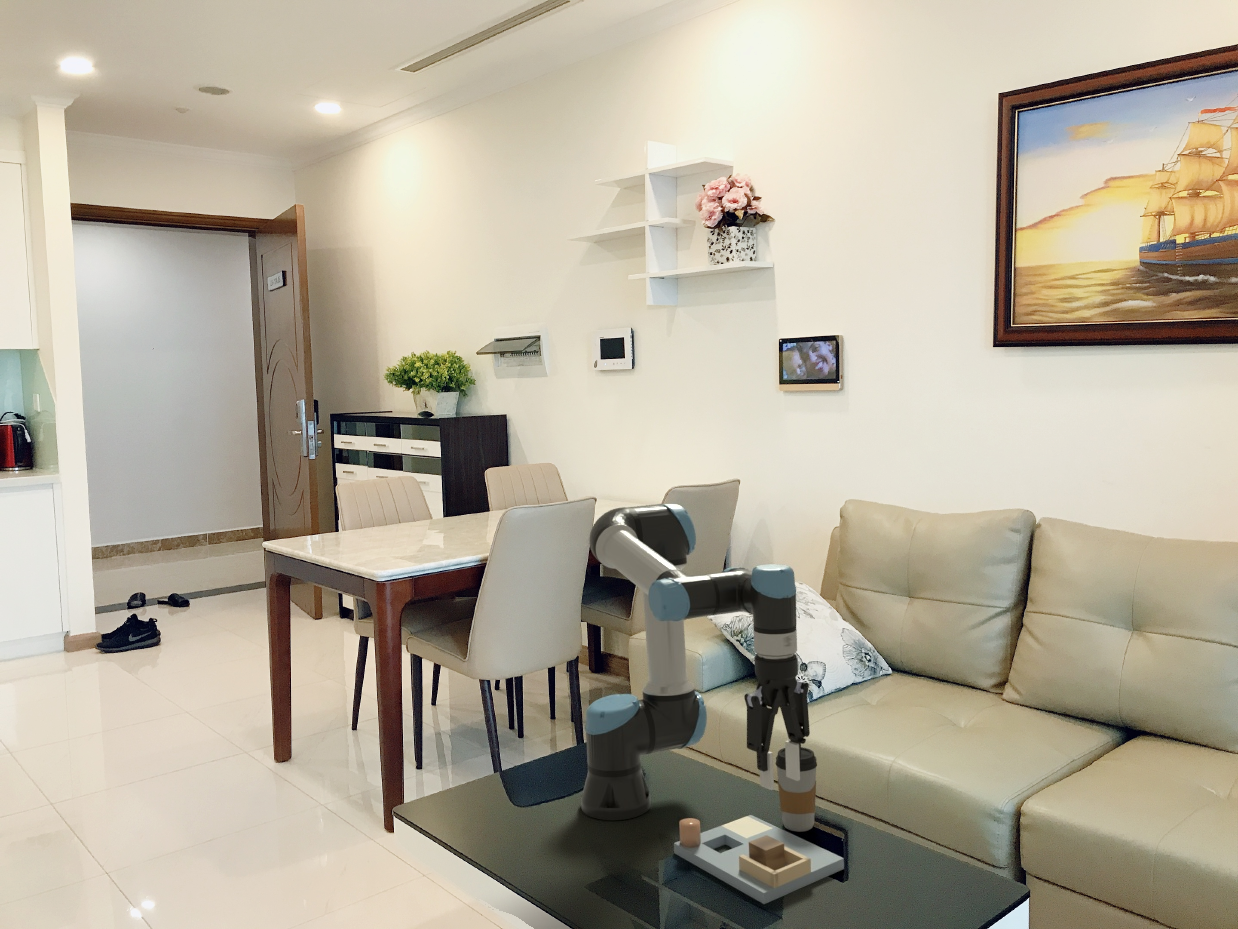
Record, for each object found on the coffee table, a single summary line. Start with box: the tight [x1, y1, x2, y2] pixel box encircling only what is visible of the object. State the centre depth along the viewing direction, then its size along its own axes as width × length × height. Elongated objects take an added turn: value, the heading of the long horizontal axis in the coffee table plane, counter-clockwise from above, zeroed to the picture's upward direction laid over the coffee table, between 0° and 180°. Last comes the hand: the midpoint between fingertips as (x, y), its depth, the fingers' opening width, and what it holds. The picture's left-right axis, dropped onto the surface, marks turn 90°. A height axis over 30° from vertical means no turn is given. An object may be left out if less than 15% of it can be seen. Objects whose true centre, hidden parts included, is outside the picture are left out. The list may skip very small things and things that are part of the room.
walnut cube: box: [749, 835, 785, 871], centre depth 175 cm, size 4×4×4 cm
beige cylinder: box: [678, 817, 702, 848], centre depth 186 cm, size 4×4×4 cm
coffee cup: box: [775, 746, 818, 832], centre depth 196 cm, size 8×8×15 cm
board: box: [673, 814, 845, 905], centre depth 182 cm, size 25×20×4 cm
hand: (780, 782), depth 171 cm, fingers open, 6 cm apart
